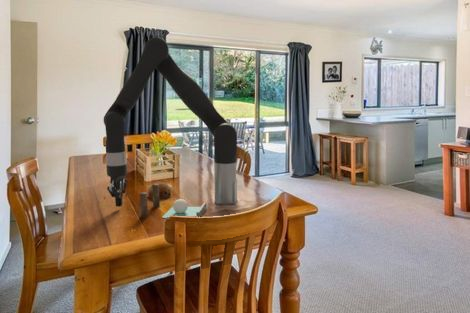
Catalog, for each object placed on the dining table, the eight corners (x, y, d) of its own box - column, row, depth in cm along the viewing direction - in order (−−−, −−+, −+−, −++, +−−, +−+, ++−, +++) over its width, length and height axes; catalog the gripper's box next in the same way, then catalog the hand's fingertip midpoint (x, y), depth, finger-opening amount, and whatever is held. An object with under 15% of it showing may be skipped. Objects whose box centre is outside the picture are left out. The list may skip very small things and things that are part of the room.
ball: (181, 194, 138) (173, 205, 139) (176, 198, 133) (168, 209, 134) (192, 203, 138) (184, 213, 139) (187, 207, 132) (179, 218, 134)
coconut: (164, 199, 166) (159, 183, 167) (177, 194, 160) (172, 177, 160) (147, 204, 159) (142, 188, 159) (160, 199, 152) (154, 181, 153)
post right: (160, 205, 146) (159, 184, 144) (158, 207, 144) (157, 185, 142) (154, 204, 146) (153, 183, 145) (152, 206, 144) (151, 185, 142)
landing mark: (207, 207, 143) (207, 207, 143) (198, 219, 129) (198, 219, 129) (173, 206, 145) (173, 205, 145) (161, 218, 131) (161, 217, 131)
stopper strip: (206, 208, 142) (206, 202, 141) (199, 218, 130) (199, 212, 130) (204, 208, 142) (203, 202, 141) (196, 218, 130) (196, 212, 130)
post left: (148, 215, 134) (147, 192, 132) (146, 217, 131) (145, 194, 130) (142, 215, 134) (141, 192, 133) (139, 217, 132) (138, 194, 130)
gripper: (117, 166, 130) (120, 211, 133) (132, 160, 143) (135, 201, 146) (98, 166, 131) (101, 211, 134) (115, 159, 144) (118, 200, 147)
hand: (119, 205), depth 140 cm, fingers closed
